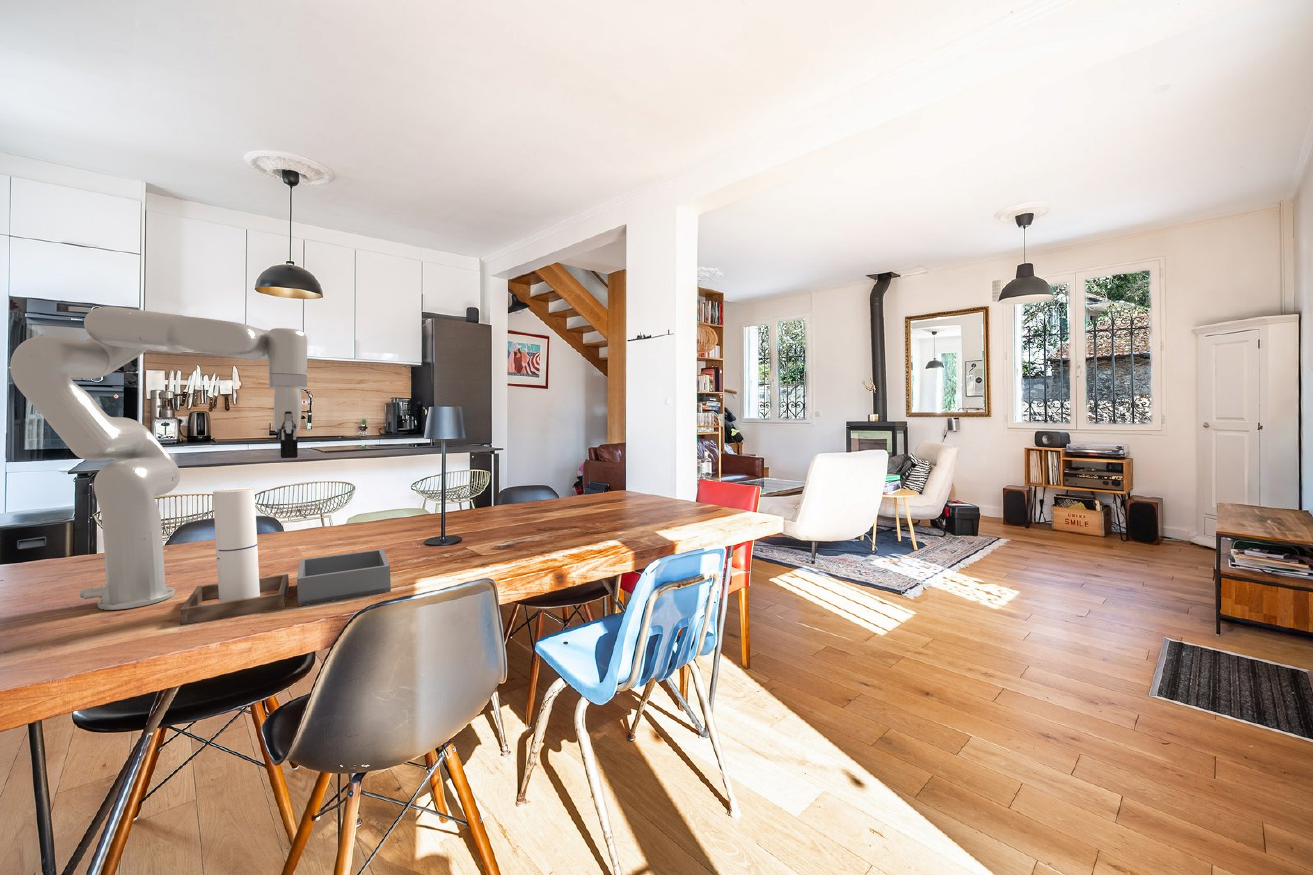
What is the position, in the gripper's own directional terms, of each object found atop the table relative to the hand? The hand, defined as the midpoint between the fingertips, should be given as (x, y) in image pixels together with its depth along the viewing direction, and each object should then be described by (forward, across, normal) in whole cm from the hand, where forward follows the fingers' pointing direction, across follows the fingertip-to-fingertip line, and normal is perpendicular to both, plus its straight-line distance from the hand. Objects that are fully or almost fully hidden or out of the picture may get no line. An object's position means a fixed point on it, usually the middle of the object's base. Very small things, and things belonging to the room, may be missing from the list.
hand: (289, 456), depth 130 cm
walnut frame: (+32, +6, -9) cm, 33 cm away
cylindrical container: (+32, +6, -9) cm, 34 cm away
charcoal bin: (+31, +7, +11) cm, 33 cm away
